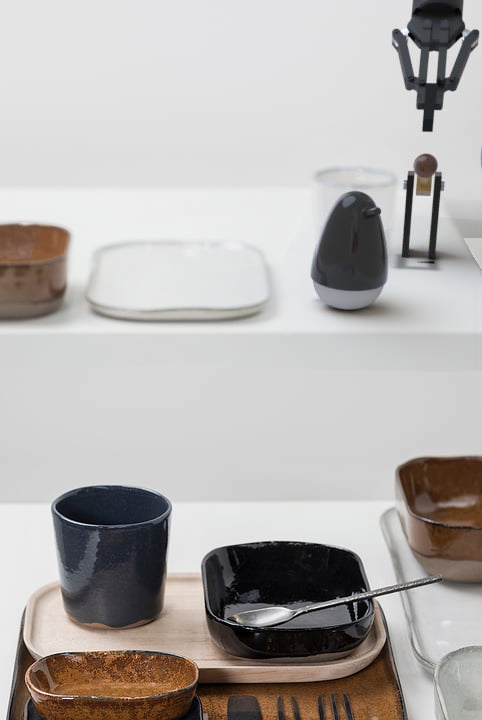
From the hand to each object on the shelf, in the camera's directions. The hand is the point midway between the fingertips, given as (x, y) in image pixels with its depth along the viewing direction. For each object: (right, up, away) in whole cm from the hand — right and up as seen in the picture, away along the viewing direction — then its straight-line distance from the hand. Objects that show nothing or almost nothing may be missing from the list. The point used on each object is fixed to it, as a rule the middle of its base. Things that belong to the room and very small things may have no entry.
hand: (427, 125), depth 155 cm
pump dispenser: (-13, -27, -9) cm, 31 cm away
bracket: (+1, -18, +13) cm, 22 cm away
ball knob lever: (0, -8, +3) cm, 9 cm away
